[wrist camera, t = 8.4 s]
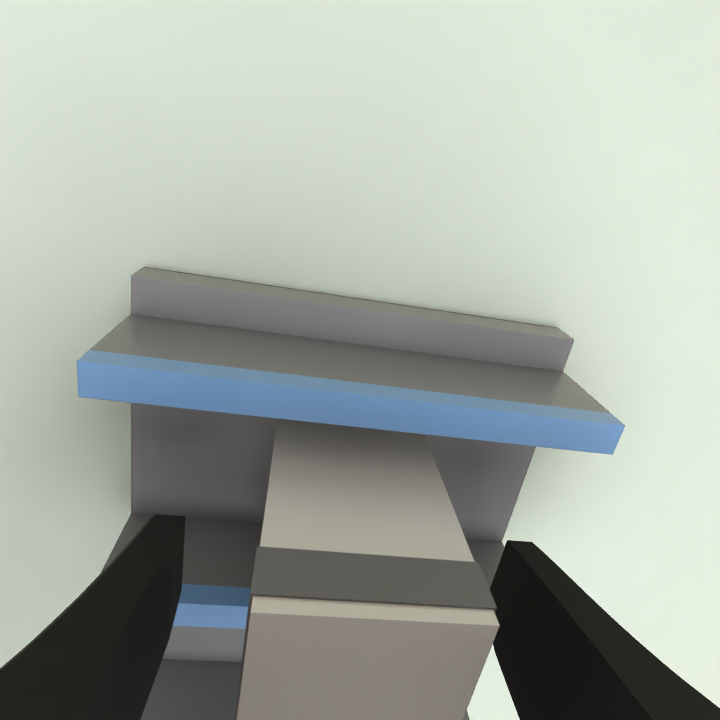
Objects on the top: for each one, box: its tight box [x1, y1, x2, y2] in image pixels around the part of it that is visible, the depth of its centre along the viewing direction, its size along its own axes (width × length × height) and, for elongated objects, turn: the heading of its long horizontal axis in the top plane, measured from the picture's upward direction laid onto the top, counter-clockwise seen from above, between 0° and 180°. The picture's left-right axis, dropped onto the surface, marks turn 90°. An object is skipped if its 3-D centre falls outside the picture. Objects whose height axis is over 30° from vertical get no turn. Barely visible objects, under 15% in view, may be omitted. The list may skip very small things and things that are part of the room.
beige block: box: [234, 418, 500, 720], centre depth 12 cm, size 4×4×7 cm
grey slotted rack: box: [77, 267, 625, 720], centre depth 16 cm, size 12×22×4 cm, turn 170°
